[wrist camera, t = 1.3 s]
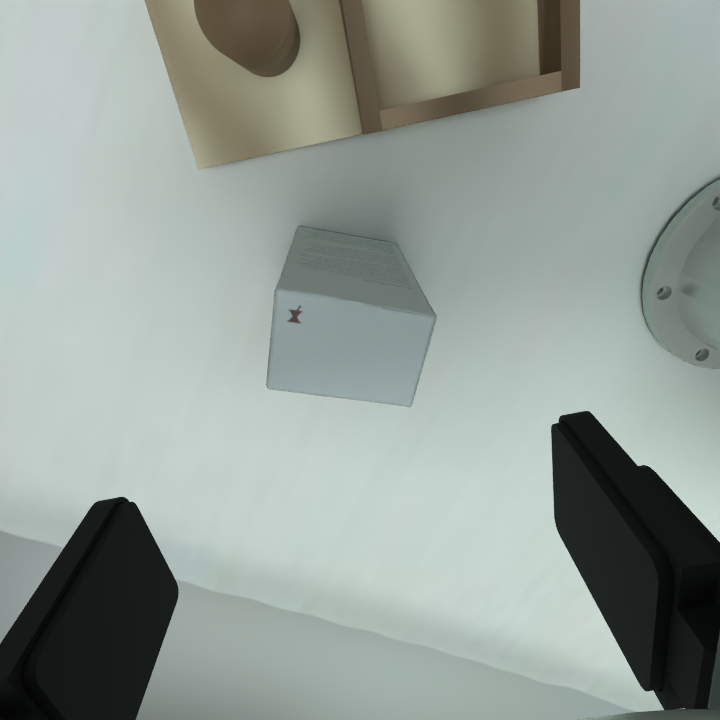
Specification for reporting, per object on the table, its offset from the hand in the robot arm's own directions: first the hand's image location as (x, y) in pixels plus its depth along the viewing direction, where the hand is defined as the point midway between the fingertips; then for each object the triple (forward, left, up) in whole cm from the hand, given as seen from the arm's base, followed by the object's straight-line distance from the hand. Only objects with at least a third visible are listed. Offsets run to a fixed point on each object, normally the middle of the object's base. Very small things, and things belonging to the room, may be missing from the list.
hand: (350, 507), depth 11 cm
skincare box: (0, 0, -20) cm, 20 cm away
